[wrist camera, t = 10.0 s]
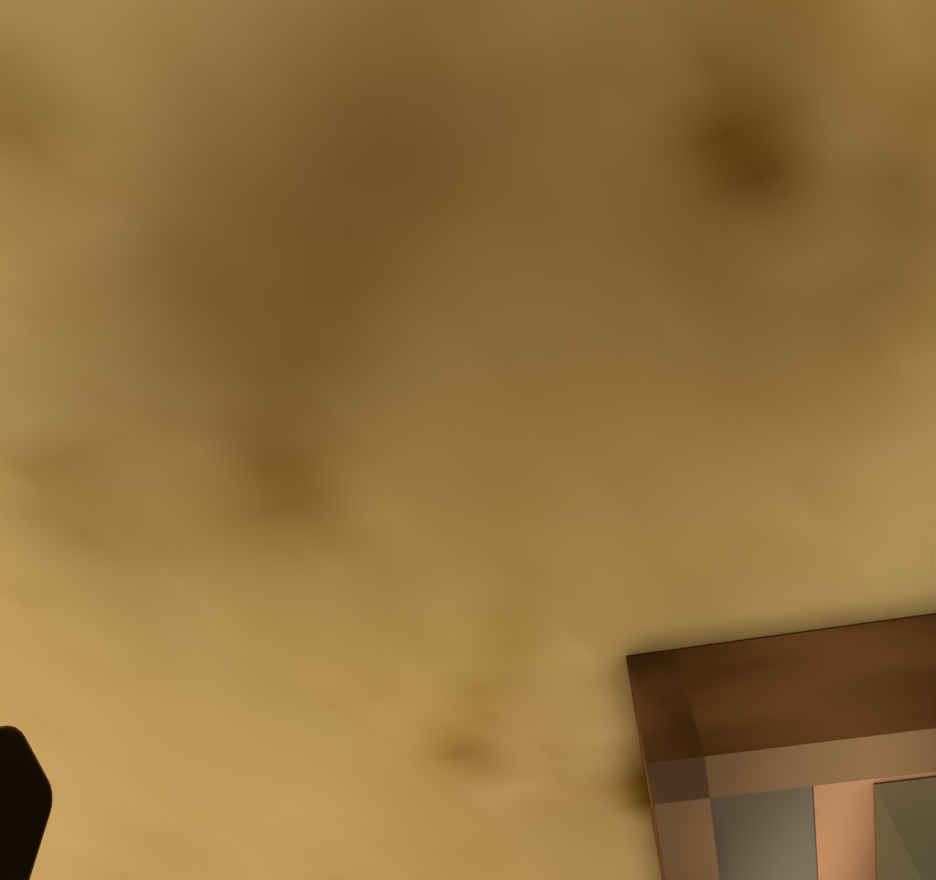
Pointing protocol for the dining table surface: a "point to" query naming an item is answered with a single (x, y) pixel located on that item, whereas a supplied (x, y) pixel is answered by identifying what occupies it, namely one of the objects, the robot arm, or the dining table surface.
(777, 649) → the arena
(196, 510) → the dining table surface
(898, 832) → the cube
